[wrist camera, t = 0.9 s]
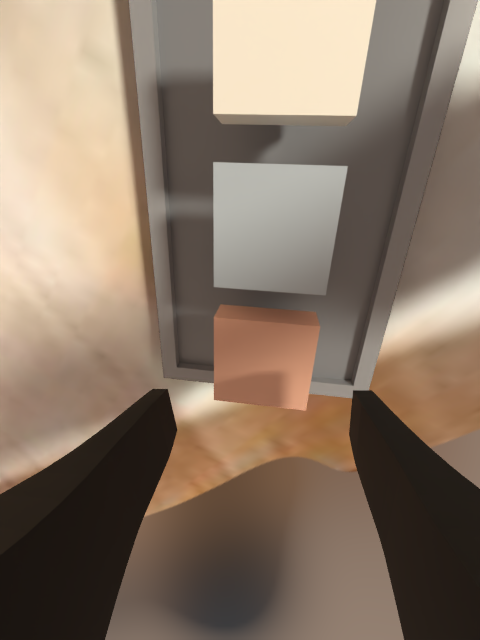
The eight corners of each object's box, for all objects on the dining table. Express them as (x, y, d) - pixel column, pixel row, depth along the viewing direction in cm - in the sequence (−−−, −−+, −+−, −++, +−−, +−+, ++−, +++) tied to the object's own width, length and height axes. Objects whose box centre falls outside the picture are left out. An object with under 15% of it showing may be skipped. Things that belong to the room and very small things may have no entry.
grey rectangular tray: (478, -68, 11) (507, -106, 10) (359, 384, 20) (365, 399, 19) (139, -52, 13) (120, -84, 11) (171, 365, 22) (163, 377, 20)
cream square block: (357, -11, 10) (394, -110, 7) (335, 136, 12) (356, 115, 9) (233, -7, 11) (212, -98, 7) (230, 134, 13) (213, 113, 9)
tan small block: (311, 296, 15) (320, 326, 12) (300, 367, 17) (305, 410, 14) (227, 290, 16) (213, 317, 13) (226, 359, 18) (214, 399, 14)
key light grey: (329, 172, 13) (347, 166, 10) (315, 271, 15) (325, 295, 11) (230, 169, 13) (213, 162, 10) (228, 265, 15) (213, 287, 12)
